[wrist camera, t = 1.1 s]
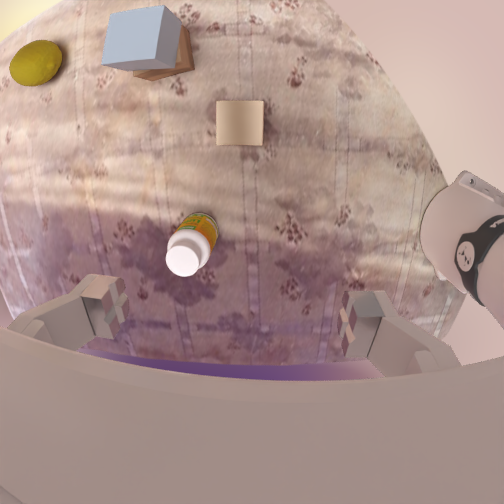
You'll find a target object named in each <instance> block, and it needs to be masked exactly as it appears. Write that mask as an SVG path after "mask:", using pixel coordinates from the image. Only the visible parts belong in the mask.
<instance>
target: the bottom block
mask: <svg viewBox="0 0 504 504" xmlns="http://www.w3.org/2000/svg"><path fill="white" fill-rule="evenodd" d="M191 70H195V68H194V62H193V56H192V49H191V43H190V36H189V31H188V30H187V29H186V28H185V27H184V26H183V25H182V24H181V30H180V36H179V42H178V49H177V56H176V63H175V68H167V69H148V70H136V71H133V76H135V77H138V78H142V79H146V80H150V81H155V80H158V79H161V78H165V77H168V76H172V75H175V74H179V73H183V72H187V71H191Z"/></svg>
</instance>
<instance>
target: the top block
mask: <svg viewBox="0 0 504 504" xmlns="http://www.w3.org/2000/svg"><path fill="white" fill-rule="evenodd" d="M181 24H182V22H181V21H180V20H179V19H178V18H177V17H176V16H175V15H174V14H173V13H172V12H171V11H170V10H169V9H168V8H167V7H166V6H165V5H162V6H154V7H146V8H140V9H134V10H128V11H123V12H118V13H113V14H110V19H109V24H108V28H107V34H106V39H105V45H104V51H103V57H102V64H101V65H104V66H108V67H113V68H117V69H121V70H124V71H136V70H148V69H167V68H175V63H176V56H177V49H178V42H179V36H180V30H181Z"/></svg>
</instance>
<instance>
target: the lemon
mask: <svg viewBox="0 0 504 504" xmlns="http://www.w3.org/2000/svg"><path fill="white" fill-rule="evenodd" d="M61 62H62V53H61V51H60V49H59V48H58V46H57V45H56V44H54V43H53V42H51V41H47V40H36V41H33V42H31V43H29V44H27V45H25V46H24V47H22V48H21V49H20V50H19V51H18V52H17V53H16V55H15V56H14V58H13V59H12V61H11V63H10V67H9V70H10V74H11V76H12V78H13V79H14V80H15V81H16V82H17V83H19V84H21V85H24V86H38V85H42V84H44V83H46V82H47V81H49V80H50V79H51V78H52V77H53V76H54V75H55V74H56V72H57V71H58V69H59V67H60V65H61Z"/></svg>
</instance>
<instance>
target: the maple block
mask: <svg viewBox="0 0 504 504" xmlns="http://www.w3.org/2000/svg"><path fill="white" fill-rule="evenodd" d="M263 130H264V102H263V101H216V145H262V144H263Z"/></svg>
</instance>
